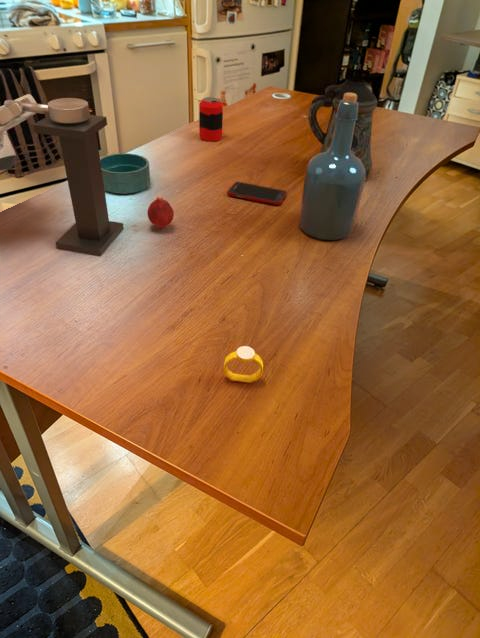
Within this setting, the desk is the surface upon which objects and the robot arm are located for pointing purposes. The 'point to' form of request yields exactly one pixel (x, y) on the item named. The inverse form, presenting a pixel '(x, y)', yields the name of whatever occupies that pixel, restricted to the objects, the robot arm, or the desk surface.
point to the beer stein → (362, 124)
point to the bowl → (125, 173)
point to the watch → (246, 356)
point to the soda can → (210, 119)
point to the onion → (160, 213)
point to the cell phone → (257, 193)
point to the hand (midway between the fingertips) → (25, 104)
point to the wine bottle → (334, 181)
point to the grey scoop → (59, 109)
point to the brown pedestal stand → (83, 185)
